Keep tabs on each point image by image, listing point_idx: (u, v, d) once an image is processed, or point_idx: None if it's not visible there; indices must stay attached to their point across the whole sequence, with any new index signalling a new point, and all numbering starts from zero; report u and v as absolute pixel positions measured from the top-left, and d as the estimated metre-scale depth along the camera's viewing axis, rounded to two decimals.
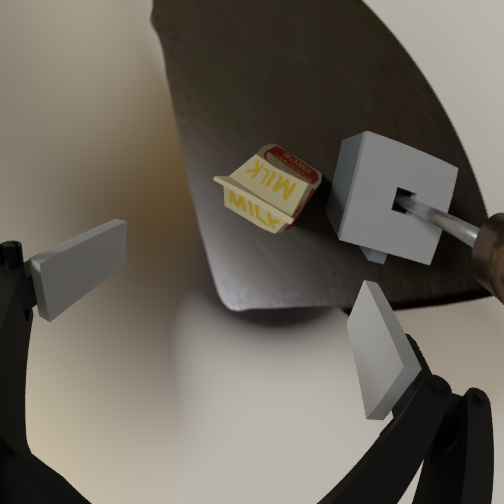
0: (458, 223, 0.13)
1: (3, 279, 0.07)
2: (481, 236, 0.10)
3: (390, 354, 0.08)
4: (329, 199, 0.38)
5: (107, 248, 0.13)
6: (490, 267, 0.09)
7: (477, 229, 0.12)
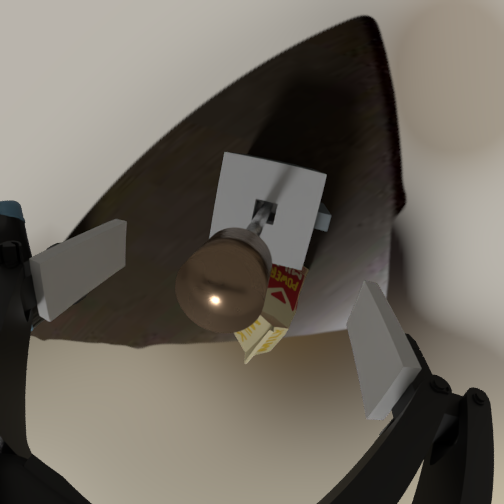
0: None
1: (3, 279, 0.07)
2: None
3: (390, 354, 0.08)
4: None
5: (107, 248, 0.13)
6: None
7: None
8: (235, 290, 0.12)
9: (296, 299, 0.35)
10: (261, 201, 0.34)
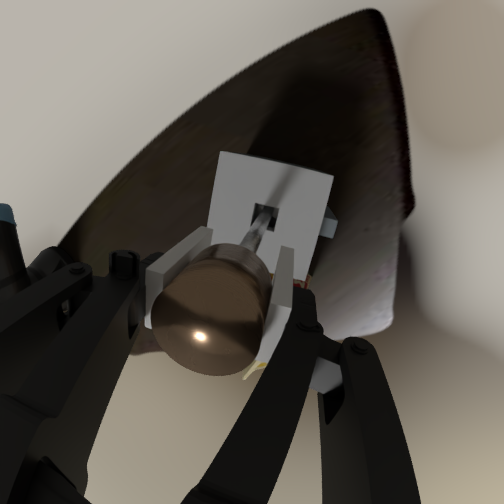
0: None
1: (110, 291, 0.08)
2: None
3: (270, 297, 0.10)
4: None
5: None
6: None
7: None
8: (223, 329, 0.09)
9: None
10: (261, 205, 0.31)
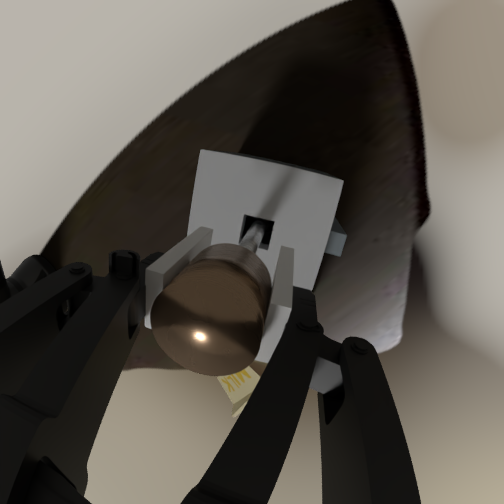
0: None
1: (110, 291, 0.08)
2: None
3: (270, 297, 0.10)
4: None
5: None
6: None
7: None
8: (223, 329, 0.09)
9: None
10: None
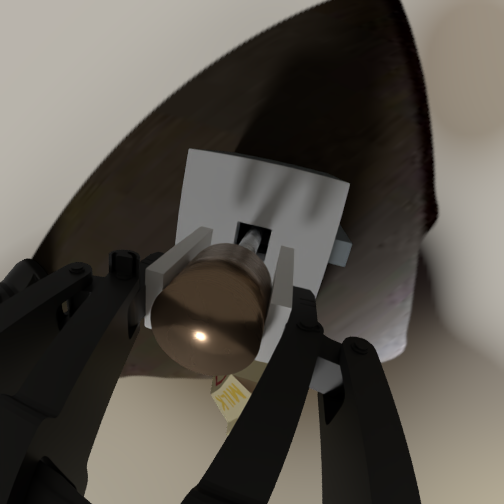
0: None
1: (110, 291, 0.08)
2: None
3: (270, 297, 0.10)
4: None
5: None
6: None
7: None
8: (223, 329, 0.09)
9: None
10: None
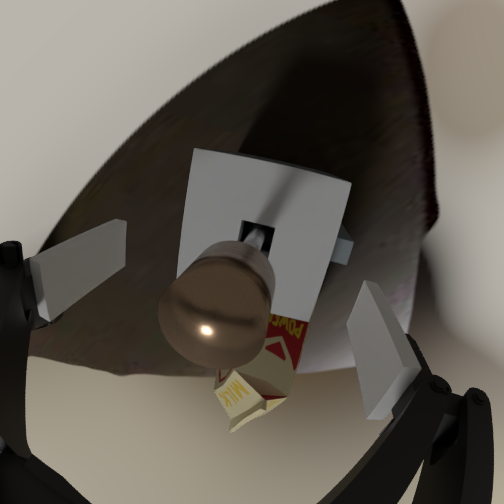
0: None
1: (3, 279, 0.07)
2: None
3: (390, 354, 0.08)
4: None
5: (107, 248, 0.13)
6: None
7: None
8: (229, 323, 0.09)
9: (300, 351, 0.25)
10: None
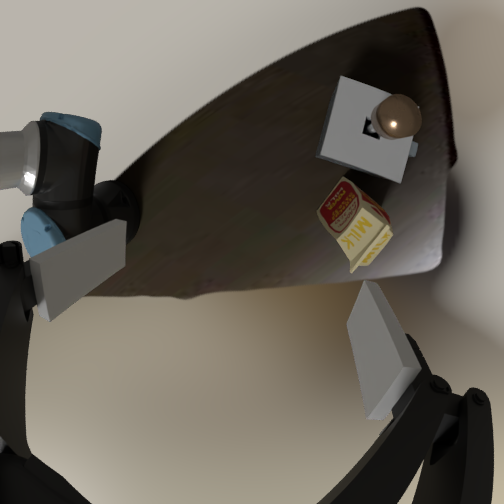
0: None
1: (3, 279, 0.07)
2: (383, 136, 0.23)
3: (390, 354, 0.08)
4: (364, 172, 0.43)
5: (107, 248, 0.13)
6: (396, 138, 0.22)
7: None
8: (409, 114, 0.19)
9: (388, 217, 0.35)
10: None
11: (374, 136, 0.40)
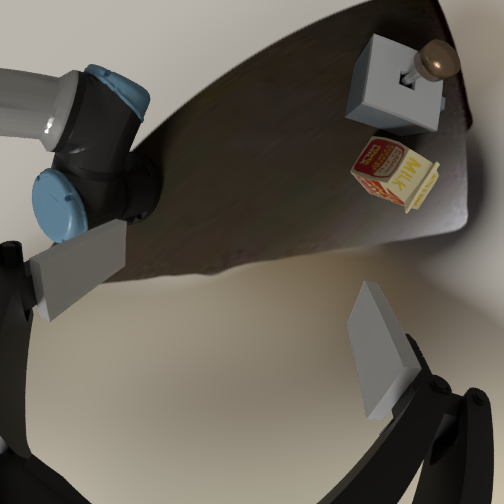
0: (413, 76, 0.24)
1: (3, 279, 0.07)
2: (426, 78, 0.20)
3: (390, 354, 0.08)
4: (392, 132, 0.40)
5: (107, 248, 0.13)
6: (439, 78, 0.19)
7: (418, 71, 0.22)
8: (450, 56, 0.16)
9: None
10: None
11: None
